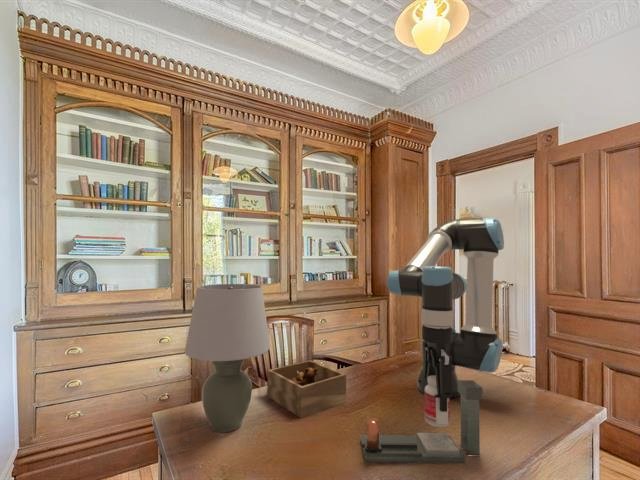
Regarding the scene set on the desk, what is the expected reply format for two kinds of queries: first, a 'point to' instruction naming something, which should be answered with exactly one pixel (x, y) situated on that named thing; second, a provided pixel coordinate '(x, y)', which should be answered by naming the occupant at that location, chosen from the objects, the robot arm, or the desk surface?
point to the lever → (372, 435)
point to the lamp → (227, 347)
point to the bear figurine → (305, 377)
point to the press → (434, 437)
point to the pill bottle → (432, 403)
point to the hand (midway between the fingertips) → (436, 416)
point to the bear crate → (306, 388)
